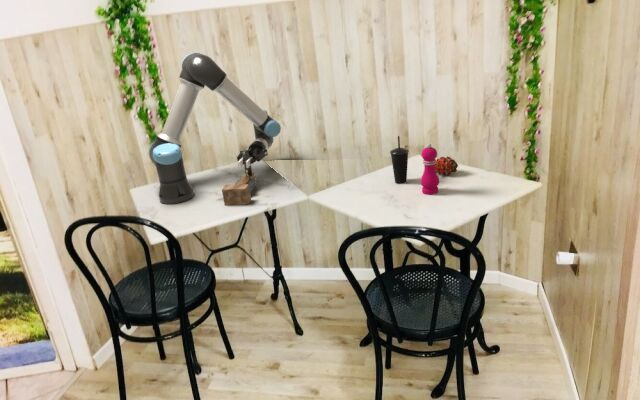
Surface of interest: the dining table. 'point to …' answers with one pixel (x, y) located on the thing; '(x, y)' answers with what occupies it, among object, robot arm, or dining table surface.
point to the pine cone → (445, 166)
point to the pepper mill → (429, 171)
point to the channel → (250, 185)
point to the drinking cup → (399, 163)
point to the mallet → (246, 170)
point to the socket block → (236, 194)
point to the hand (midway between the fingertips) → (242, 165)
